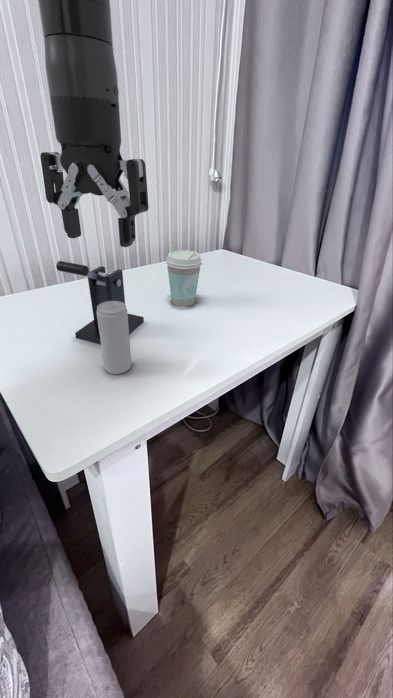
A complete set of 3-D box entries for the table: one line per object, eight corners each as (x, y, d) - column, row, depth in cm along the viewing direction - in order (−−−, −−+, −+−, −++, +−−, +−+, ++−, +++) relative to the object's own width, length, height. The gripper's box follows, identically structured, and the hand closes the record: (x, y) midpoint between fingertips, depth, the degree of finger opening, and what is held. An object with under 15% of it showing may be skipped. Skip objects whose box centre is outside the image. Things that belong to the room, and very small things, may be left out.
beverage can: (137, 365, 60) (133, 305, 53) (118, 379, 56) (111, 316, 50) (117, 357, 62) (111, 297, 55) (98, 369, 58) (89, 308, 52)
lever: (81, 277, 54) (84, 262, 53) (54, 271, 55) (57, 257, 55) (120, 289, 65) (122, 277, 65) (97, 285, 67) (99, 273, 67)
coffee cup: (179, 312, 79) (180, 262, 72) (159, 299, 84) (158, 252, 78) (207, 303, 83) (209, 256, 77) (186, 292, 89) (187, 247, 82)
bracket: (113, 347, 65) (106, 286, 58) (75, 337, 67) (64, 277, 60) (143, 321, 74) (141, 265, 67) (109, 313, 77) (103, 259, 70)
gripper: (9, 91, 37) (39, 240, 45) (121, 93, 33) (131, 256, 41) (56, 99, 43) (75, 229, 51) (156, 101, 39) (158, 242, 47)
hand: (100, 241), depth 46 cm, fingers open, 8 cm apart
